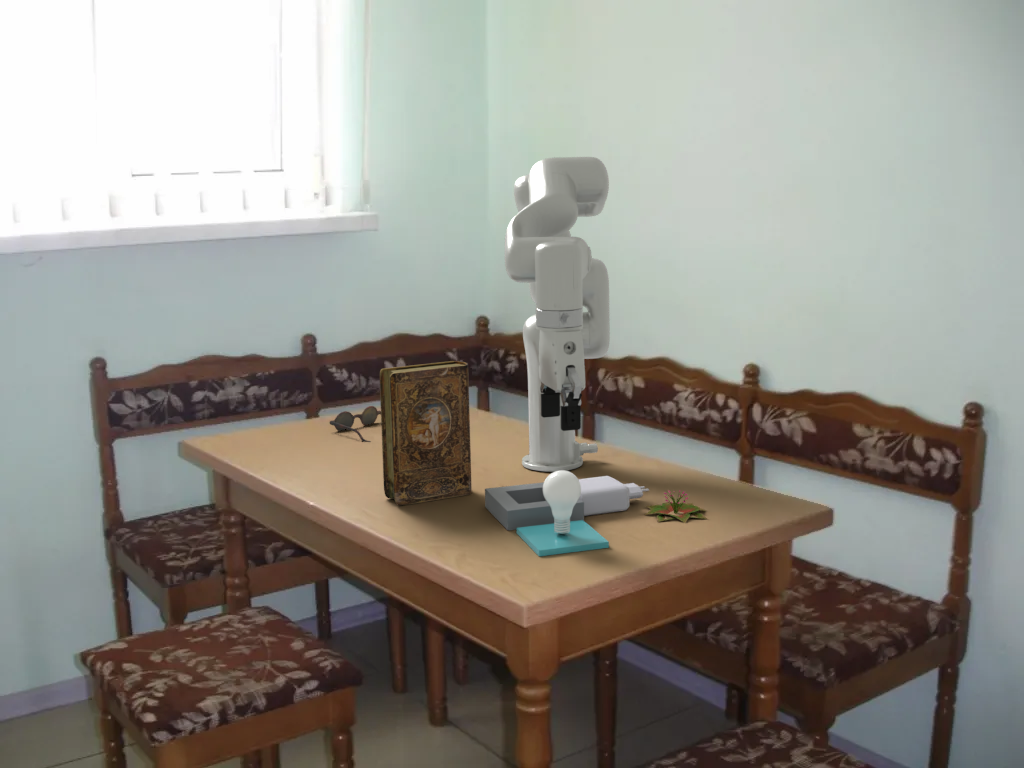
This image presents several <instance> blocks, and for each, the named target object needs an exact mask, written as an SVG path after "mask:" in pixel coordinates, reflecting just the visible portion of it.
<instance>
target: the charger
mask: <svg viewBox="0 0 1024 768" xmlns="http://www.w3.org/2000/svg"><path fill="white" fill-rule="evenodd" d="M578 480H579V482H580V484H581V495H580V498H579V499H581V500H582V501H583V502H584V517H587V516H595V515H602V514H609V513H616V512H617V513H618V512H625V511H627V510H628V509H629V507H630V500H634V499H640V498H642V497H643V496H644V492H649V491H650V489H649V488H645V486H644V485H643V486H639V485H638V484H636V483H634V482H630V483H622V482H621V481H619V480H618V479H616V478H613V477H611V476H609V475H602V476H595V477H587V478H578Z"/></svg>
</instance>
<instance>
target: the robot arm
mask: <svg viewBox="0 0 1024 768" xmlns="http://www.w3.org/2000/svg"><path fill="white" fill-rule="evenodd" d="M609 186H610V180H609V173H608V170H607V167H606V165H605V164H604V162H603V161H602V160H601V159H599V158H597V157H595V156H565V157H563V156H562V157H561V156H559V157H555V156H554V157H546V158H543V159H541V160H538V161H537V162H536V163H534V165H532V167H531V169H530V171H529V173H528V174H524V175H522V176H519V177H518V178H517V179H516V180H515V182H514V186H513V195H514V197H513V198H514V201H515V206H516V208H517V214H516V215H514V216H513V217H512V219H511V220H510V221H509V223H508V225H507V228H506V230H505V235H504V236H505V238H504V266H505V270H506V274H507V276H508V277H509V279H510V280H512V281H513V282H516V283H519V284H525V283H526V284H529V285H528V287H529V294H530V297H531V300H532V302H534V303H535V314H532V315H531V316H529V317H528V318H527V319H526V320H525V321H524V323H523V326H522V327H523V328H522V338H523V346H524V350H525V351H524V352H525V357H526V358H525V360H526V367H527V390H528V391H527V392H528V396H527V397H528V448H529V449H528V451H529V454H526V455H524V456H523V457H522V459H521V464H522V466H523V467H524V468H526V469H529V470H533V471H539V472H550V473H553V472H555V471H558V470H565V471H571V470H572V471H573V470H575V469H578V468H579V467H581V466H582V465H583V464H584V462H583V460H584V458H583V456H584V454H597V453H598V449H599V448H598V447H599V446H598V444H597V443H588V442H581V443H580V442H578V441H577V440H576V430H577V431H578V430H580V429H581V428H582V425H581V414H582V411H581V409H582V407H581V405H582V396H583V394H582V391H584V390H585V388H586V369H585V368H586V366H585V359H586V360H589V359H590V360H593V359H600V358H603V357H605V355H607V353H608V351H609V348H610V338H611V337H610V334H611V332H610V280H609V279H610V277H609V274H608V270H607V266H606V265H605V263H604V261H602V260H601V259H598V258H594V257H592V249H591V247H590V246H589V244H588V243H587V241H586V240H585V239H583V238H581V237H578V236H572V234H571V232H570V230H571V229H572V228H573V227H574V226H575V224H576V222H577V220H578V217H579V218H580V217H581V218H583V217H584V218H585V217H586V218H587V217H591V218H592V217H595V216H599V214H601V213H603V212H602V211H603V210H604V207H605V204H606V201H607V198H608V194H609V190H610V189H609V188H610V187H609ZM583 307H585V308H586V310H587V311H584V308H583Z"/></svg>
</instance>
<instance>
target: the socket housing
mask: <svg viewBox="0 0 1024 768" xmlns="http://www.w3.org/2000/svg"><path fill="white" fill-rule="evenodd" d="M543 484H544V481H542V482H536V483H535V482H534V483H525V484H515V485H508V486H507V485H506V486H497V487H489V488H484V501H485V502H484V503H485V504H484V506H485V507H484V508H486V509H487V510H488V512H489V513H491V515H492V516H493V517H494V518H495V519H496V520H497V521H498V522H499V523H500V524H501V525H502V526H503V527H504V528H505V530H506V531H513V530H517V528H519V527H527V526H535V525H544V524H552V523H554V522H555V521H554V517H553V515H552V510H551V507H550V506H549V504H548V503H547V501H546V500H545V498H544V495H543ZM578 520H583V521H585V516H584V502H583V501H582V500H581V499H579V500H578V501H577V503H576V504H575V506H574V507H573V511H572V515H571V517H570V521H578Z"/></svg>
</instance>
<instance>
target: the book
mask: <svg viewBox="0 0 1024 768" xmlns="http://www.w3.org/2000/svg"><path fill="white" fill-rule="evenodd" d="M469 379H470V378H469V362H465V361H461V360H450V361H441V362H431V363H423V364H414V365H413V364H412V365H404V366H396V367H386V368H385V367H384V368H381V369H380V371H379V399H380V411H381V415H380V424H381V427H380V428H381V447H382V449H381V450H382V452H381V453H382V477H383V478H382V479H383V492H384V496H385V497H386V498H388V499H391V500H394V503H395V504H396V505H397V506H407V505H415V504H419V503H420V504H422V503H426V502H432V501H439V500H445V499H451V498H456V497H462V496H463V497H465V496H469V495H471V494H472V491H473V490H472V457H471V456H472V453H471V426H470V425H471V422H470V421H471V420H470V419H471V418H470V416H471V415H470V385H469V383H470V382H469Z"/></svg>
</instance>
